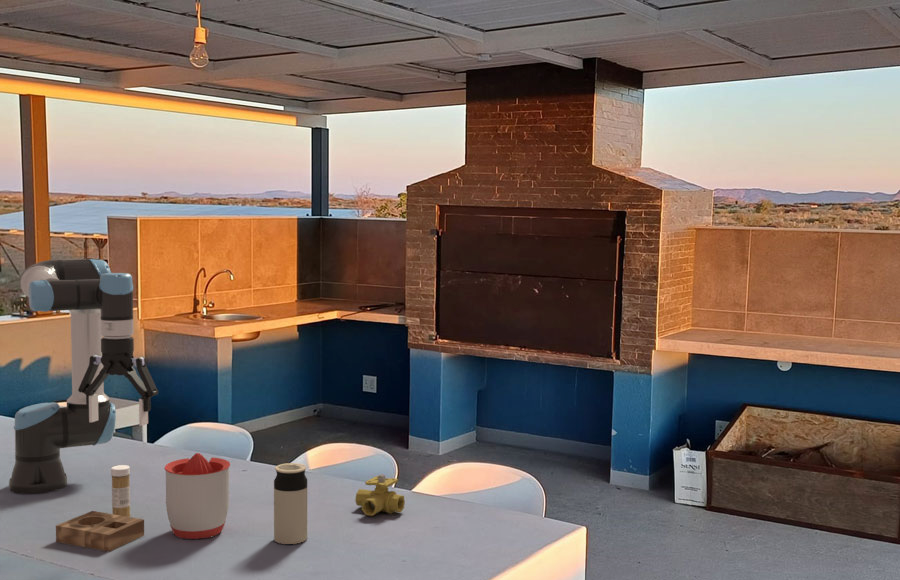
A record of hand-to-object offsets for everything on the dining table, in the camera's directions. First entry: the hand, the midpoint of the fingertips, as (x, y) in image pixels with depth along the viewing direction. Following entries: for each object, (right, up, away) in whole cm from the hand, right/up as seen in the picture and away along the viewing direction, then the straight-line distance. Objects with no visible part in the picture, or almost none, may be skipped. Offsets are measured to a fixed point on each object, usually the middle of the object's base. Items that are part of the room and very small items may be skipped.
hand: (118, 423), depth 228 cm
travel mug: (+42, -28, -2) cm, 51 cm away
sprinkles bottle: (-4, -26, +12) cm, 29 cm away
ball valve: (+62, -27, +20) cm, 70 cm away
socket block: (-3, -28, -3) cm, 28 cm away
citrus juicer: (+19, -28, +3) cm, 33 cm away
